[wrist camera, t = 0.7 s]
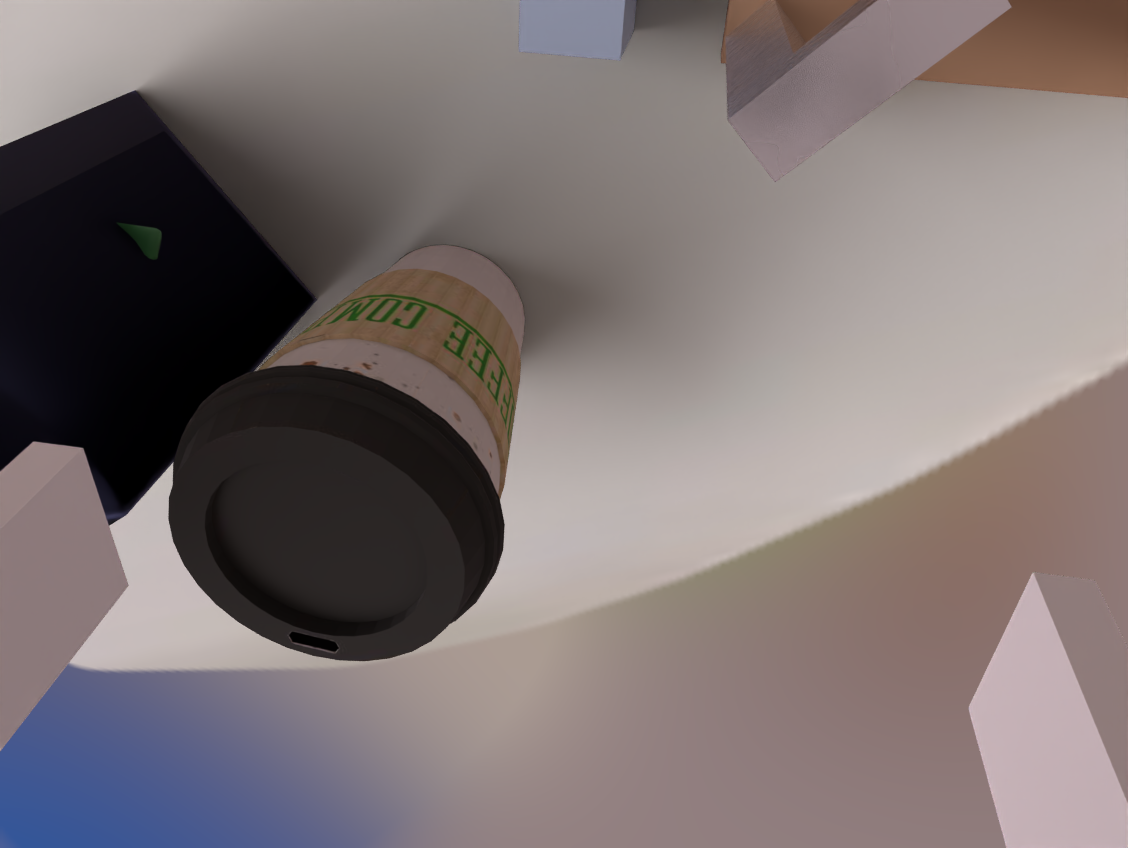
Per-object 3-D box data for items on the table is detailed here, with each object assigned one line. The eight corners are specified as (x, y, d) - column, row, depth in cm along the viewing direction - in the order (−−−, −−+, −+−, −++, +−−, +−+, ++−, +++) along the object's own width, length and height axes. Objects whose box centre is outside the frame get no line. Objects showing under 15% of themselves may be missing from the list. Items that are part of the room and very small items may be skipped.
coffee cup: (590, 231, 34) (514, 454, 22) (547, 436, 39) (468, 708, 27) (341, 174, 34) (126, 363, 22) (333, 386, 40) (158, 633, 27)
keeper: (876, -102, 27) (965, -71, 17) (907, -51, 27) (1011, 6, 18) (724, 28, 29) (727, 119, 20) (757, 72, 30) (774, 182, 20)
